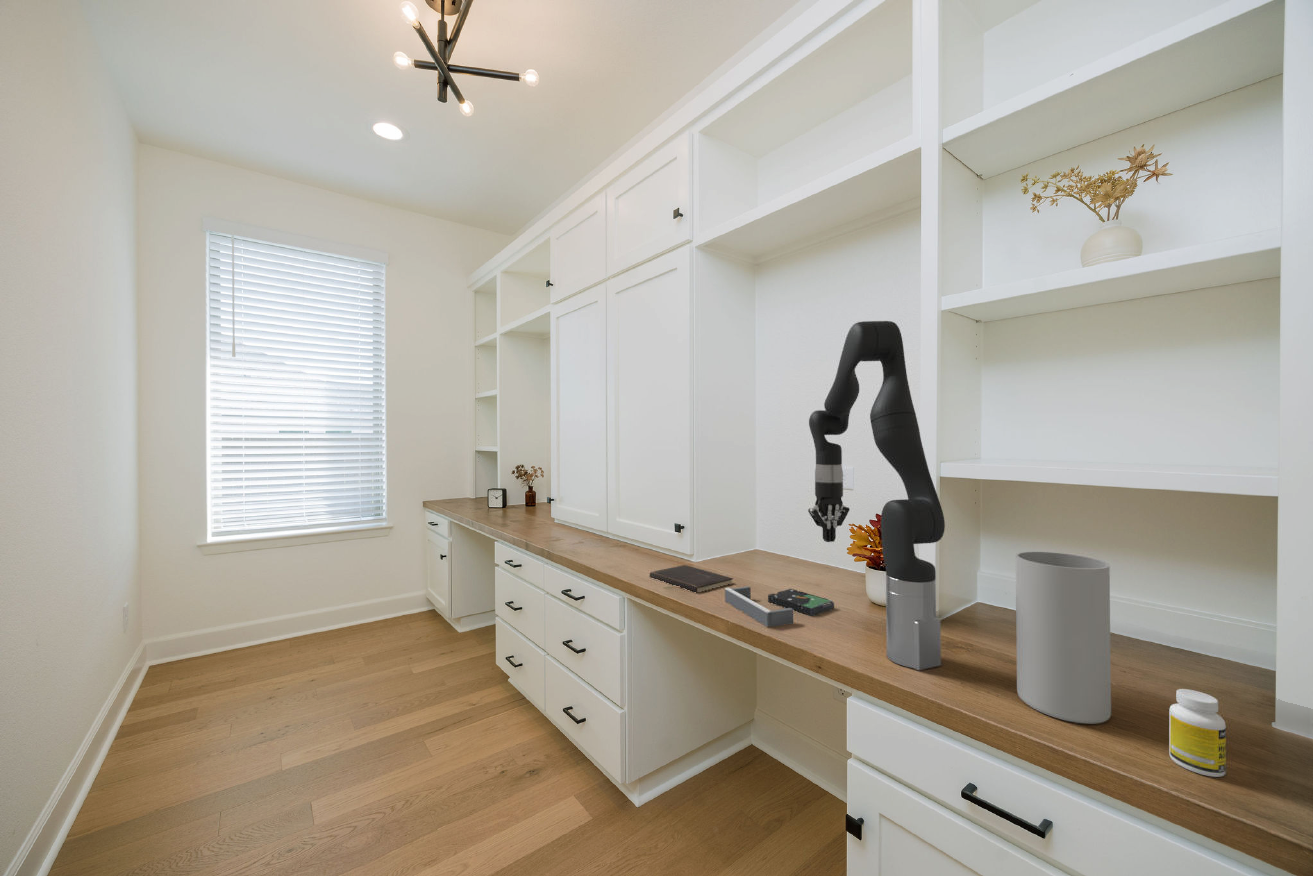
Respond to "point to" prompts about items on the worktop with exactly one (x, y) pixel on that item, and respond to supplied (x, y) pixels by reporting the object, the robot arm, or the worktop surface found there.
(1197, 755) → the supplement bottle
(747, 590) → the dock
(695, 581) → the hardcover book
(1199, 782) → the worktop surface
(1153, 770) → the worktop surface
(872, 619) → the worktop surface
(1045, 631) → the cylinder vase
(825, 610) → the disk drive
